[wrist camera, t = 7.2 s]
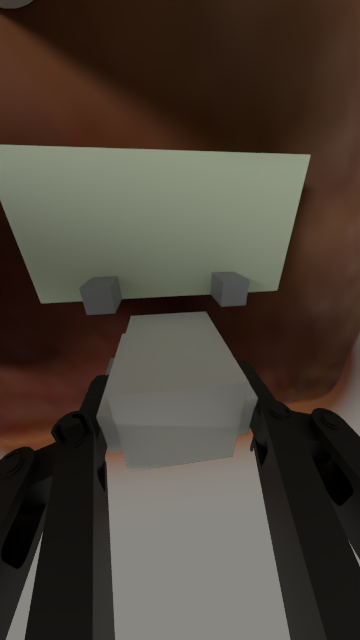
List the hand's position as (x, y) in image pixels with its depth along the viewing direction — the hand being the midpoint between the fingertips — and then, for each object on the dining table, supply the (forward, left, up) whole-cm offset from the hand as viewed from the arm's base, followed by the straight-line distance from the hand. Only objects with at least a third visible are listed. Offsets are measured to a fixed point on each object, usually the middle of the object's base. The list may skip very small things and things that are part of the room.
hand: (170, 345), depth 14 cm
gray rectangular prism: (0, 0, 0) cm, 0 cm away
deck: (0, +3, -4) cm, 5 cm away
